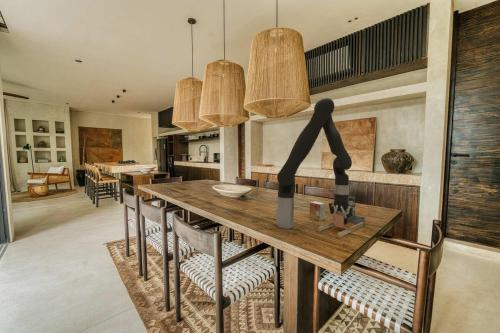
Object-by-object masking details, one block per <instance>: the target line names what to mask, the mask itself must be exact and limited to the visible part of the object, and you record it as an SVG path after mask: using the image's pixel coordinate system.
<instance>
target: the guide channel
mask: <svg viewBox="0 0 500 333" xmlns="http://www.w3.org/2000/svg"><path fill="white" fill-rule="evenodd" d="M348 214H349V213H348ZM365 220H366V217H365V216H363V215H357V214H355V215H354V214H353V215H352V217H350V218H348V223H352V224H355V225H353V226H350V227H348V228H346V229H344V230H342V231H341V230H340V231H339V232H337V234H336V237H337V238H338V239H340V238H342V237H343V236H345V235H348V234H349V233H352V232H354V231H356V230H359V229H360V228H362V227H364V226H365V224H366V223H365V222H366V221H365ZM334 226H335V225H334V220H333V221H330V222H328V223H326V224H323V225H320V226H318V227H317V231H318V232H323V231H325V230H327V229H329V228H331V227H334Z"/></svg>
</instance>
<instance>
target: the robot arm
mask: <svg viewBox="0 0 500 333" xmlns="http://www.w3.org/2000/svg"><path fill="white" fill-rule="evenodd" d="M334 111H335V103H334V100H333V99H331V97H330V98H329V97H325V98H321V99H320V100H318V101H317V102H316V103H315V104H314V107H313V114H312V115H311V118H310V120H309V122H308V123H307V124H306V125H305V127H304V128H303V129H302V130H301V132H300V134H299V135H298V136H297V138H296V140H295V142H294V145H293V146H292V149H291V151H290V153H289V155H288V157H287V160H286V162H285V163H284V164H283V165H282V167H281V169H280V170H279V171H278V174H277V176H276V179H277V183H278V190H277V208H276V213H275V214H276V215H275V216H276V217H275V220H276V221H275V222H276V223H275V225H276V226H277V227H278V228H280V229H284V230H289V229H292V228H294V226H295V224H294V223H295V218H294V217H295V190H296V189H295V188H296V187H295V186H296V174H297V172H298V169H299V167H300V166H301V164H302V163H303V162H304V160H306V158H307V156H308V155H309V154H310V152H311V150H312V149H313V147H314V145H315V142H316V140H317V139H318V137H319V135H320V133H321V132H322V131H321V130H323V132H324V134H325V138H326V141H327V143H328V147H329V150H330V152H331V154H332V155H334V156H335V158H334V159H333V162H332V169H333V175H334V188H333V202H329V203H328V208H329V213H330V214H332V215H333V216H334V214H336V213H338V212H339V211H341V212H342V213H343V214H344V217H345V218H344V225H346V226H348V224H349V222H348V218H350V217H352V215H353V211H354V207H351V206H349V204H348V202H349V195H350V187H349V184H350V182H349V181H350V176H349V175H348V174H347V173H346V171H347V170H350V169H351V168H352V164H353V160H352V158H351V156H350V154H349V153H348V150H346V148H345V144H344V142H343V139H342V136H341V134H340V133H339V131H338V129H337V127H336V125H335V123H334V120H333V116H332V114H333V112H334ZM348 208H349V214H348V211H347V209H348Z"/></svg>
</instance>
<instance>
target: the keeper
mask: <svg viewBox="0 0 500 333" xmlns="http://www.w3.org/2000/svg"><path fill="white" fill-rule="evenodd" d="M344 218H345V217H344V214H343V213H336V214H334V215H333V221H334V226H338V227H342V228H343V227H346V226H347V225H344Z"/></svg>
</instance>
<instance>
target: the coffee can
mask: <svg viewBox="0 0 500 333" xmlns="http://www.w3.org/2000/svg"><path fill="white" fill-rule="evenodd" d="M356 198H357V197H356V196H354V195H350V194H349V202H348V204H349V206H351V207H354V211H353V214H354V215H356ZM347 211H348V213H349V208H348V209H347ZM338 213H342V212H341V211H339V212H338Z"/></svg>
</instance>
